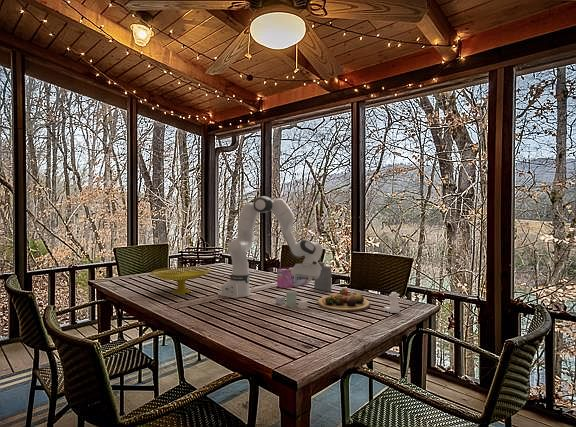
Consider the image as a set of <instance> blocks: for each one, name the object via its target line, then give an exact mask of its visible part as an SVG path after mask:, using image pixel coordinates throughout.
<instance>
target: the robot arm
mask: <svg viewBox="0 0 576 427" xmlns="http://www.w3.org/2000/svg"><path fill="white" fill-rule="evenodd" d="M268 212H272V213H273V214H274V216H275V217H276V220H277V222H278V224H279V226H280V230H281V233H282V235H283V237H284V240H285V241H286V243H287V246H288V250H289V253H290V255H291V256H292V257H293V258H295V259H301V258H302V257H303V256H305V257H304V259H303V261H302V263H301V262H300V263H299V262H298V263H295V264H294V266H292V267H293V268H292V270H291V274H292V275H293V276H294V279H293V281H297V279H296V277H297V276H299V277H306V284H309V283H310V282H311V281H312V280H314V279H318V278H319V276H320V273H321V270H322V268H321V266H320V262H318V261H319V260H320V259H321V256H322V254H323V248H324V247H323V246H322V245H321V244H320V243H319V242H313V241H310V240H309V239H308V238H307V239H306V238H303V239H301V240H299V241H297V240H296V238H295V236H294V234H293V232H292V227H293V225H294V222H295V215H294V212H293V211H292V210H291V208H290V206H289V205H288V203H287V202H286V201H285V200H284V199H283V198H280V197H278V198H276V199H272V198H271V197H270V196H267V195H262V196H258V197H256V198H255V199H254V202H246V203H244V206H243V207H242V209H241V212H240V215H239V219H238V222H237V226H236V230H237V236H236V238H233V239H232V240H231V241H230V242H229V243H228V248H227V249H228V252H229V253H230V257H231V261H232V262H231V263H232V264H231V265H232V268H231V269H232V273H231V274H230V275H228V277H229V280H227V281H226V282H225V283H224V284H222V287H221V290H220V291H219V292H218V293H217V295H218V296H222V297H228V298H232V299H233V298H235V299H236V298H245V297H249V296H251V295H252V292H251V289H250V273H249V270H250V268H249V265H250V264H249V261H248V257H247V253H248V252H250V251H251V249H252V248H253V235H254V234H253V233H254V228H255V224H256V221H257V217H258V214H259V213H261V214H262V213H263V214H264V213H268Z"/></svg>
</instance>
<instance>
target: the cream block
mask: <svg viewBox="0 0 576 427" xmlns="http://www.w3.org/2000/svg"><path fill="white" fill-rule="evenodd" d="M308 303H309V301H308V300H303V299H301V300H299V301H298V303H297V308H298V309H302V310H306V309H308Z"/></svg>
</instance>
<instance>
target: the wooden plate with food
mask: <svg viewBox="0 0 576 427" xmlns="http://www.w3.org/2000/svg"><path fill="white" fill-rule="evenodd" d="M317 305H318V306H319V307H320V308H323V309H325V310H328V311H334V312H343V313H344V312H345V313H353V312H355V311H356V312H362V311H365V310H367V309H369V307H370V306H371V304H370V301H369V300H368V299H366V298H364V296H363V295H362V294H361V293H359V292H357V293H356V294H354V293H351V292H350V293H349V291H348V289H347V288H345V287H344V288H342V289H340V290H339V293H337V292H334V293H332V294H331V295H326V296H322V297H321V298H319V299H318V300H317Z"/></svg>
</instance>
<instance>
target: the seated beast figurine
mask: <svg viewBox="0 0 576 427" xmlns="http://www.w3.org/2000/svg"><path fill="white" fill-rule="evenodd" d="M399 296H400V293H397V292H396V291H392V292H391V293H390V294H389V298H390V302H389V306H385V307H383V310H382V311H384V312H385V311H387V312H386V313H389V312H390V313H389V314H392V313H398V314H400V312H401V308H400V307H401V306H400V305H399V304H400V303H399V301H398V298H399Z"/></svg>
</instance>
